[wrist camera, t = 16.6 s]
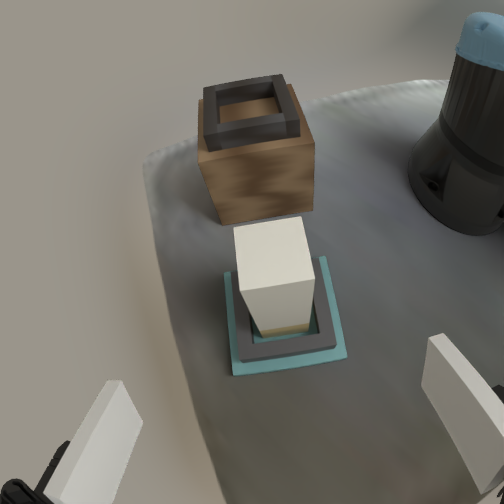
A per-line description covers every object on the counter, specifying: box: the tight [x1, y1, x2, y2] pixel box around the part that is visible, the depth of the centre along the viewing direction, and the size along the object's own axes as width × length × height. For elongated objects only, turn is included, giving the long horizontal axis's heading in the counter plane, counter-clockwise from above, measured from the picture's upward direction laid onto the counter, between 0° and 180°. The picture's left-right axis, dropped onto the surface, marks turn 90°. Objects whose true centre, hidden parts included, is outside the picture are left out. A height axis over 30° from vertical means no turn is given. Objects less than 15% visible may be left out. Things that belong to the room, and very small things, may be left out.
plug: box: [233, 216, 315, 339], centre depth 23 cm, size 4×4×12 cm
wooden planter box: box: [198, 74, 315, 226], centre depth 31 cm, size 10×10×12 cm
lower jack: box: [224, 256, 347, 376], centre depth 27 cm, size 10×10×3 cm
